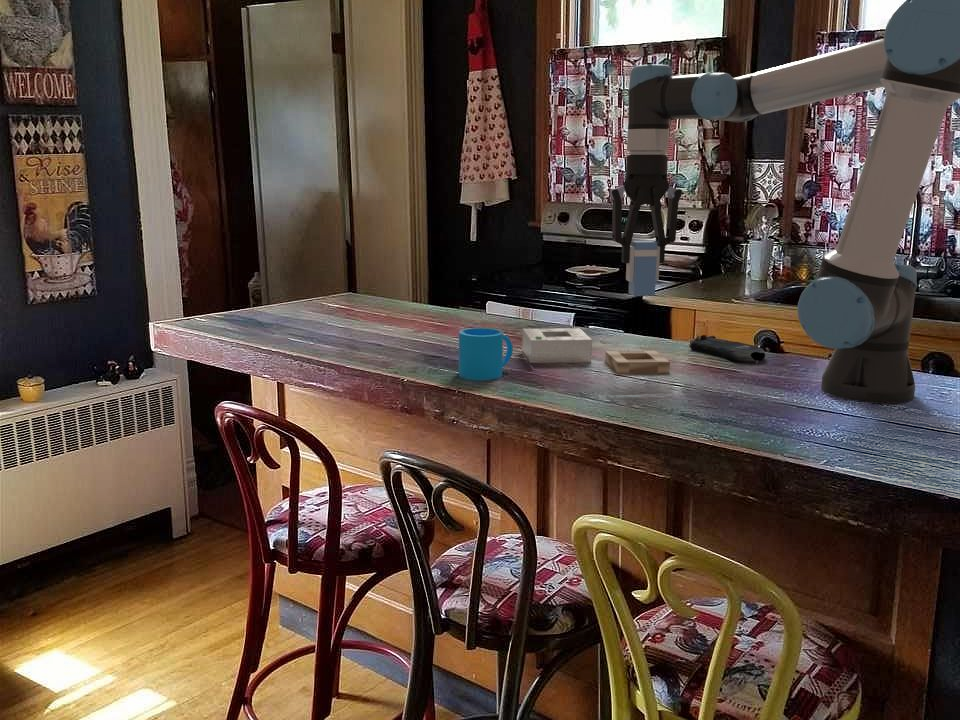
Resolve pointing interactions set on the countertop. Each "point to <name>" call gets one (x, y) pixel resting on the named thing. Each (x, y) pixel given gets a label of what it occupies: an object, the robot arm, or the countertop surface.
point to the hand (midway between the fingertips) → (642, 280)
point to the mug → (482, 353)
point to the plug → (644, 268)
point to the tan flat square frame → (637, 362)
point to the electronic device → (727, 349)
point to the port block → (556, 345)
